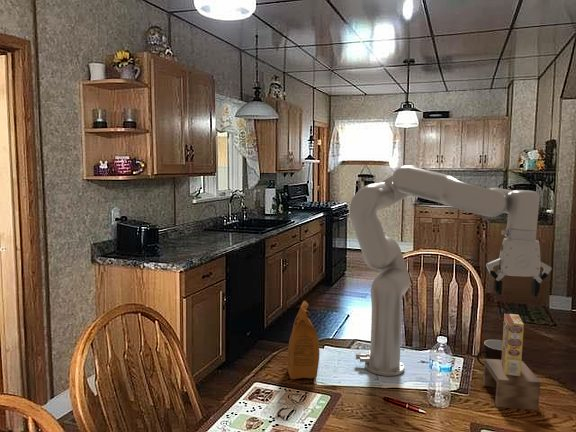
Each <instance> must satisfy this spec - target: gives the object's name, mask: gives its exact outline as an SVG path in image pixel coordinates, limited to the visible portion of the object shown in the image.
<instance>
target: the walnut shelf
mask: <svg viewBox="0 0 576 432" xmlns="http://www.w3.org/2000/svg"><path fill="white" fill-rule="evenodd" d="M501 361H502V360H498V359H485V358H484V360H483V362H484V363H483V364H484V366H483V374H482V375H483V377H482V385H483V387H494V388H495V402H494V405H495V407H497V408H508V409H522V410H534V411H535V410H536V411H537V410H539V405H540V395H541V393H540V392H541V383H542V382H541V381H540V380H539V378H538V377H537V376H536V375H535V374H534V373H533V371H532V370H531V369H530V368H529V367H528V366H527V364H526V363H525V362H524V361H523V360H521V374H520V376H512V375H505V372H504V369H503V366H502V363H501Z"/></svg>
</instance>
